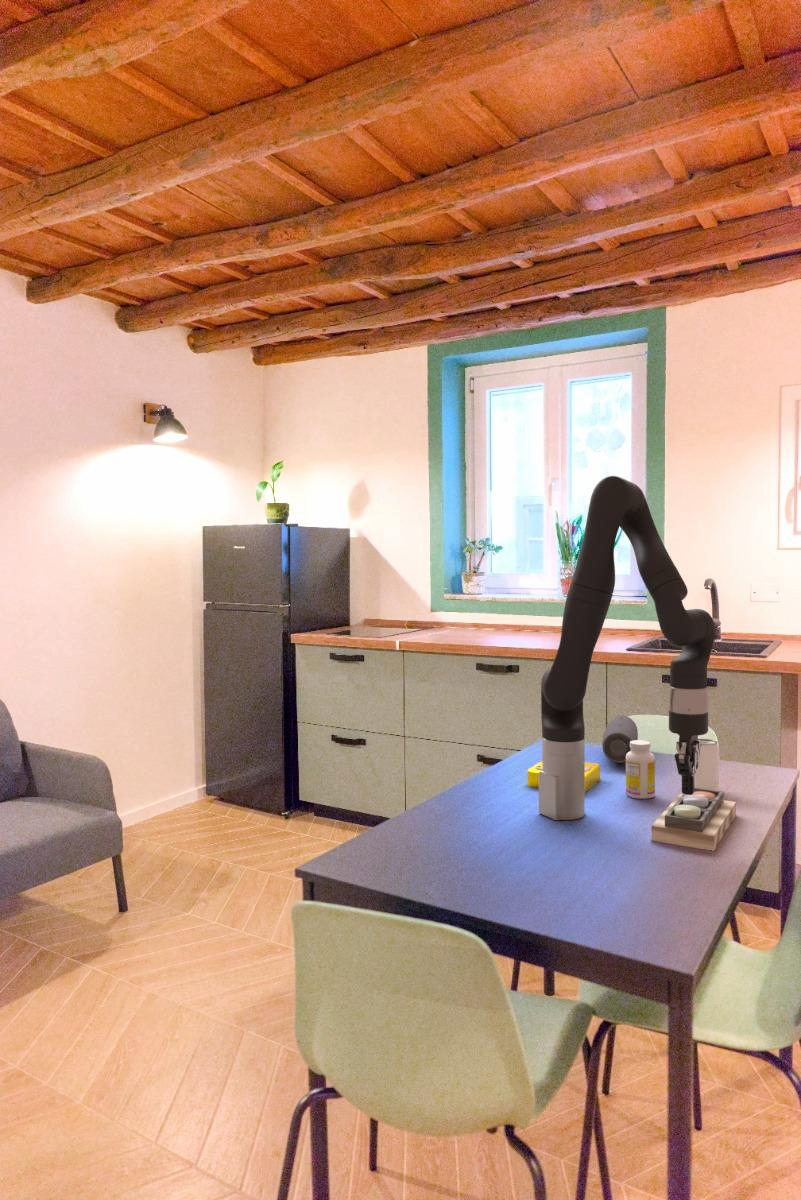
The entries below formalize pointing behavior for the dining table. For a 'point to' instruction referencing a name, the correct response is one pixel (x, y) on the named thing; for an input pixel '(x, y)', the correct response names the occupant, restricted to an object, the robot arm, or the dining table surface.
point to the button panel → (695, 823)
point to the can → (708, 766)
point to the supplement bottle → (640, 770)
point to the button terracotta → (704, 794)
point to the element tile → (590, 775)
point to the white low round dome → (696, 801)
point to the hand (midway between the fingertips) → (688, 793)
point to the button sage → (687, 811)
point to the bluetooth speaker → (619, 738)
